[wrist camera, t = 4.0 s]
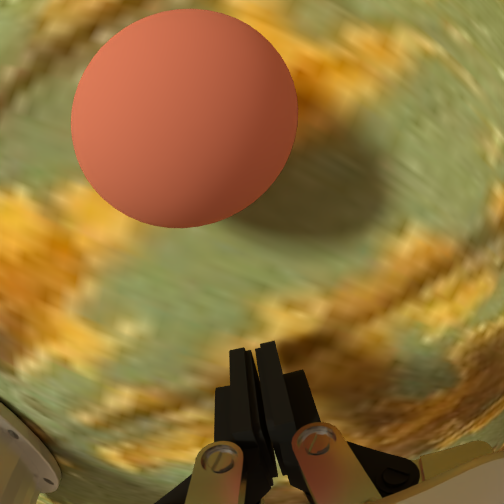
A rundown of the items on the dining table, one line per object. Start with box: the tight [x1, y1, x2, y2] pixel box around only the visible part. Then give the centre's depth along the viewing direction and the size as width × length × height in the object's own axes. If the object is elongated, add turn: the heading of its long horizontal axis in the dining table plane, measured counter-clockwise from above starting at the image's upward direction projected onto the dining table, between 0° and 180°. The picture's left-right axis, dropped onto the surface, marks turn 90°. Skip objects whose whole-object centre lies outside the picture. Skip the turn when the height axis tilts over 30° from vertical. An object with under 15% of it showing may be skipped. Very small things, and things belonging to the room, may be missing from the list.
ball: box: [71, 9, 298, 228], centre depth 7 cm, size 6×6×6 cm
